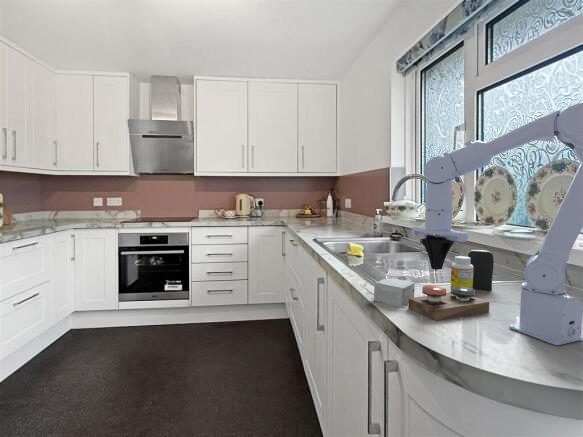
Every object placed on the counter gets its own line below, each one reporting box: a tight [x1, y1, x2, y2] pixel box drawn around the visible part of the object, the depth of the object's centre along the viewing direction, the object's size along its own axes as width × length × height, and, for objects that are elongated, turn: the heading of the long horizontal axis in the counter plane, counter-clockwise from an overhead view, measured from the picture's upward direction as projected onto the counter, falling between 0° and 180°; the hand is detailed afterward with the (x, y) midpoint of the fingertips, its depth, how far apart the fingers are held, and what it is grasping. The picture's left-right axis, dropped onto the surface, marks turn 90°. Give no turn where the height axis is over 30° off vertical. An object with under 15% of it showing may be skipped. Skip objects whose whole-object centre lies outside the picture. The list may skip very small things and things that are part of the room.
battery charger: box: [466, 249, 495, 291], centre depth 103 cm, size 7×4×11 cm, turn 66°
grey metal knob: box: [450, 286, 476, 302], centre depth 85 cm, size 5×5×4 cm
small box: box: [373, 277, 416, 308], centre depth 91 cm, size 8×8×5 cm
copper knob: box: [421, 284, 447, 306], centre depth 82 cm, size 5×5×4 cm
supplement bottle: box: [450, 255, 473, 289], centre depth 98 cm, size 6×6×10 cm
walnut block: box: [407, 292, 490, 322], centre depth 83 cm, size 9×16×2 cm, turn 111°
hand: (436, 268), depth 81 cm, fingers closed
